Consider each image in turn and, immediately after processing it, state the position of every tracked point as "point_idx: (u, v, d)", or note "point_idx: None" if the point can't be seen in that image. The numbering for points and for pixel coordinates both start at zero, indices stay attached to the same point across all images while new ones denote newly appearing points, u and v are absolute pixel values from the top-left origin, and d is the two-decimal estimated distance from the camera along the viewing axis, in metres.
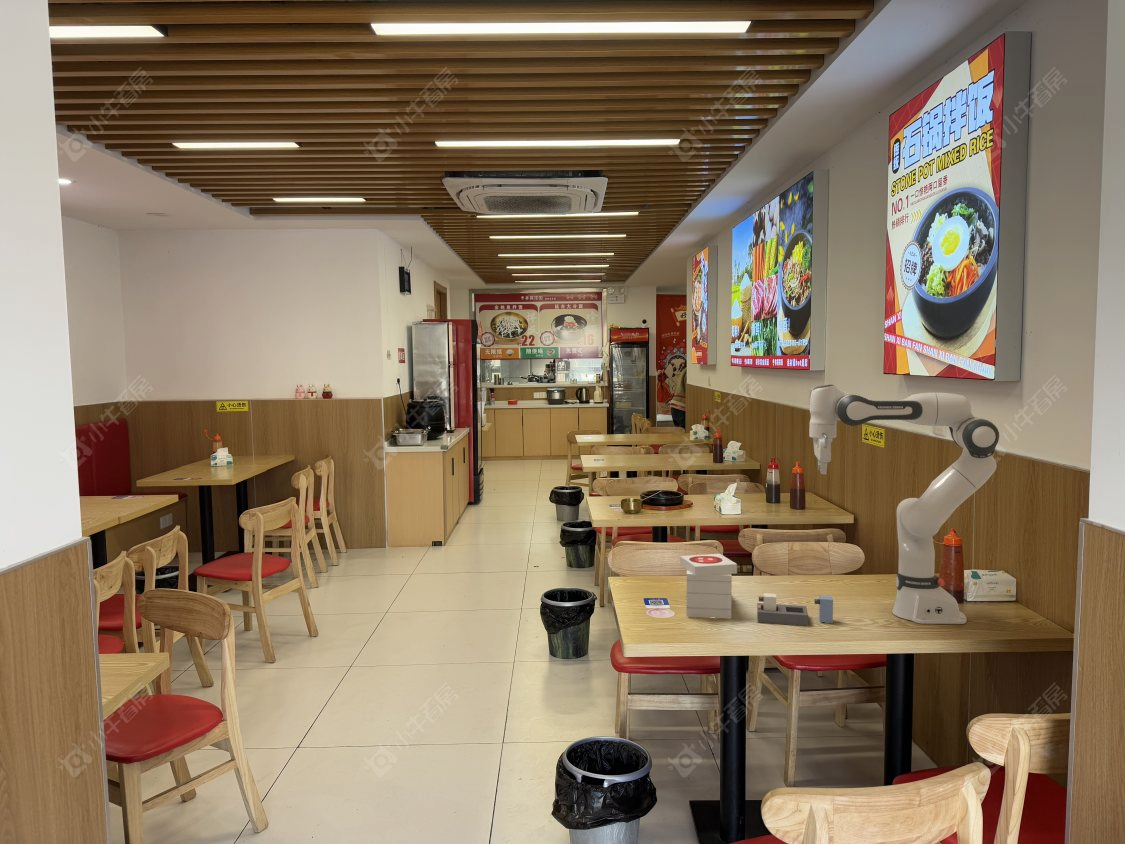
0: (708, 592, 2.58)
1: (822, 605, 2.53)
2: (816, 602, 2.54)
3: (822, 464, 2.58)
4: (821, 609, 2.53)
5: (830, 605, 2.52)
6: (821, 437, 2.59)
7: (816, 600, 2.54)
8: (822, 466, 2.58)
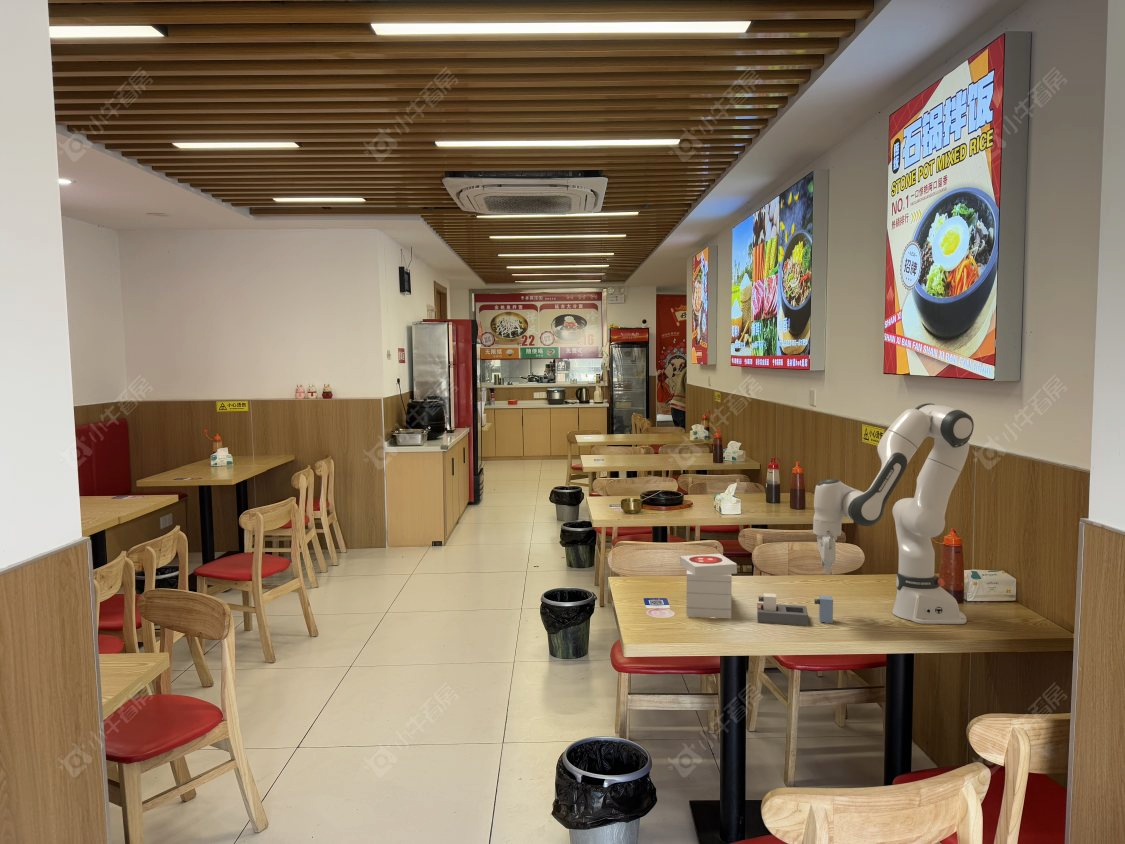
0: (708, 592, 2.58)
1: (822, 605, 2.53)
2: (816, 602, 2.54)
3: (826, 564, 2.47)
4: (821, 609, 2.53)
5: (830, 605, 2.52)
6: (825, 535, 2.48)
7: (816, 600, 2.54)
8: (826, 566, 2.47)
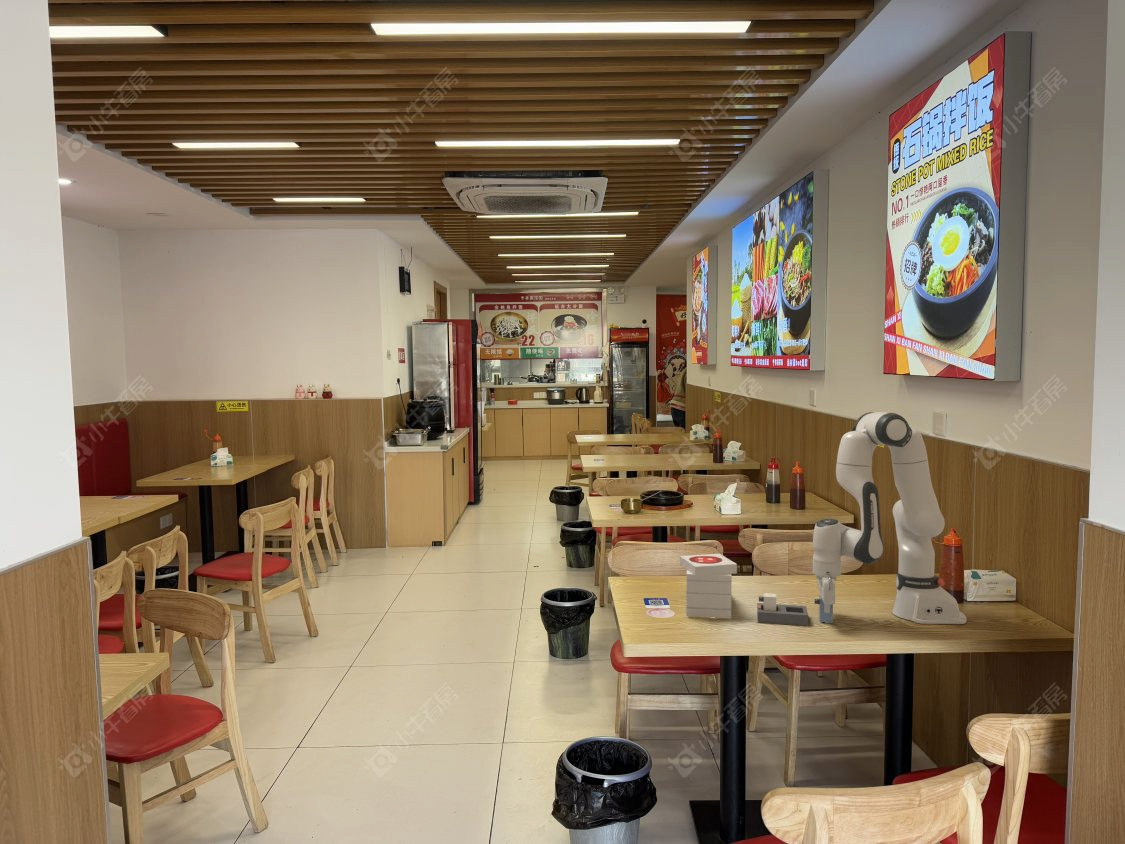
0: (708, 592, 2.58)
1: (822, 605, 2.53)
2: (816, 602, 2.54)
3: None
4: (821, 609, 2.53)
5: (830, 605, 2.52)
6: (825, 576, 2.49)
7: (816, 600, 2.54)
8: (825, 605, 2.50)
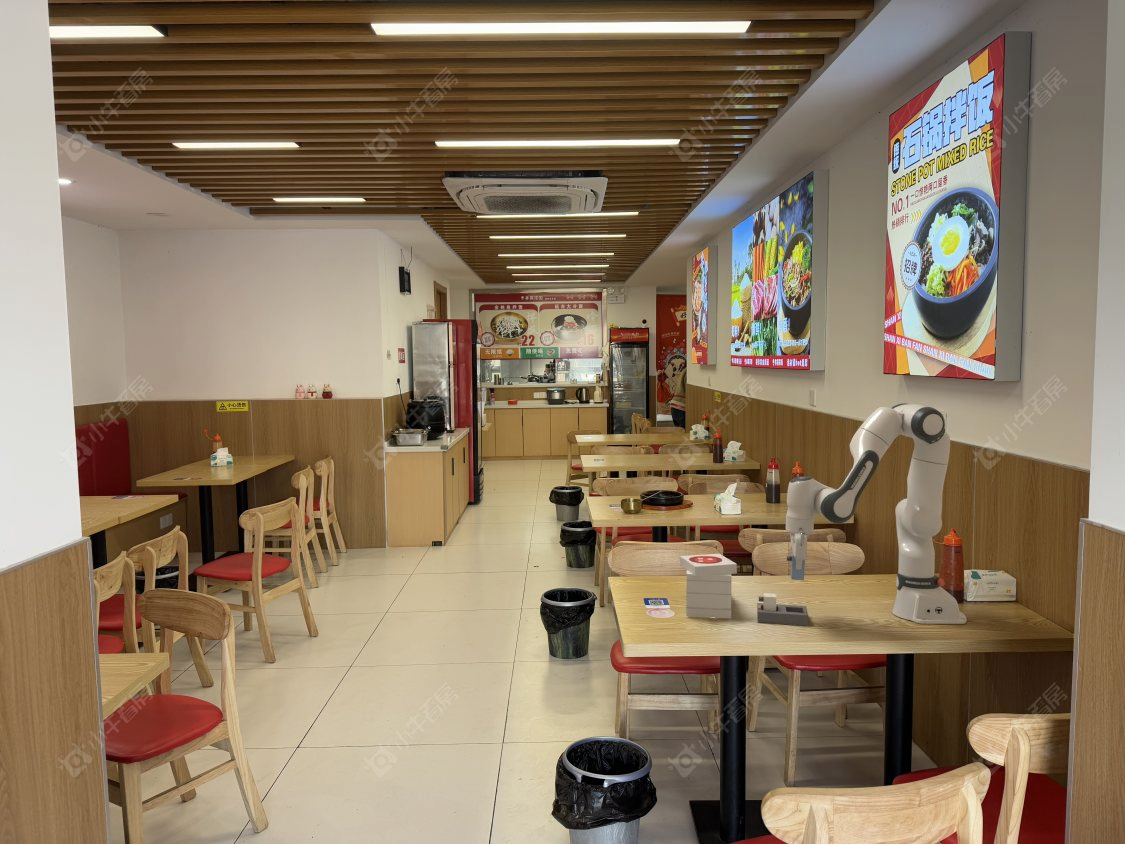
0: (708, 592, 2.58)
1: (794, 562, 2.52)
2: (788, 559, 2.54)
3: (797, 559, 2.50)
4: (793, 566, 2.53)
5: (802, 562, 2.52)
6: (797, 532, 2.49)
7: (788, 557, 2.54)
8: (797, 561, 2.50)
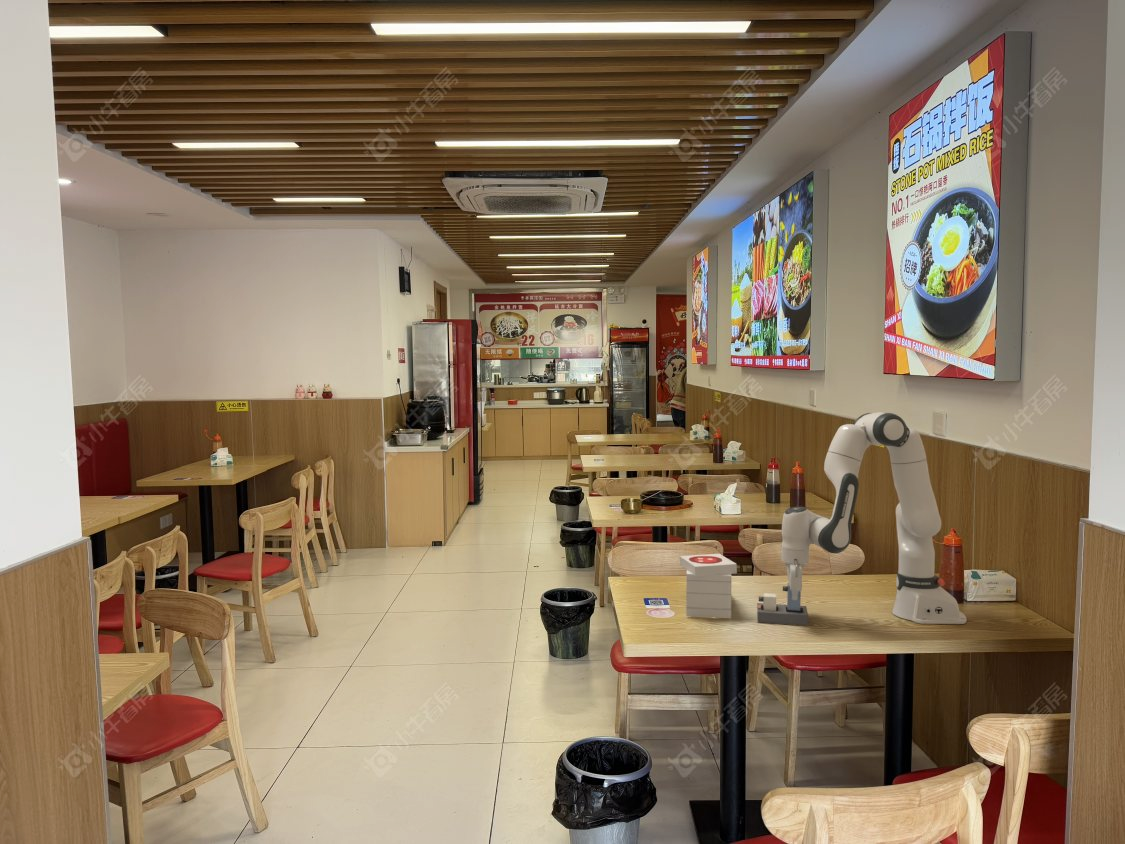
0: (708, 592, 2.58)
1: (790, 592, 2.54)
2: (784, 589, 2.55)
3: None
4: (789, 596, 2.54)
5: (798, 592, 2.53)
6: (793, 563, 2.51)
7: (784, 587, 2.56)
8: (793, 592, 2.52)
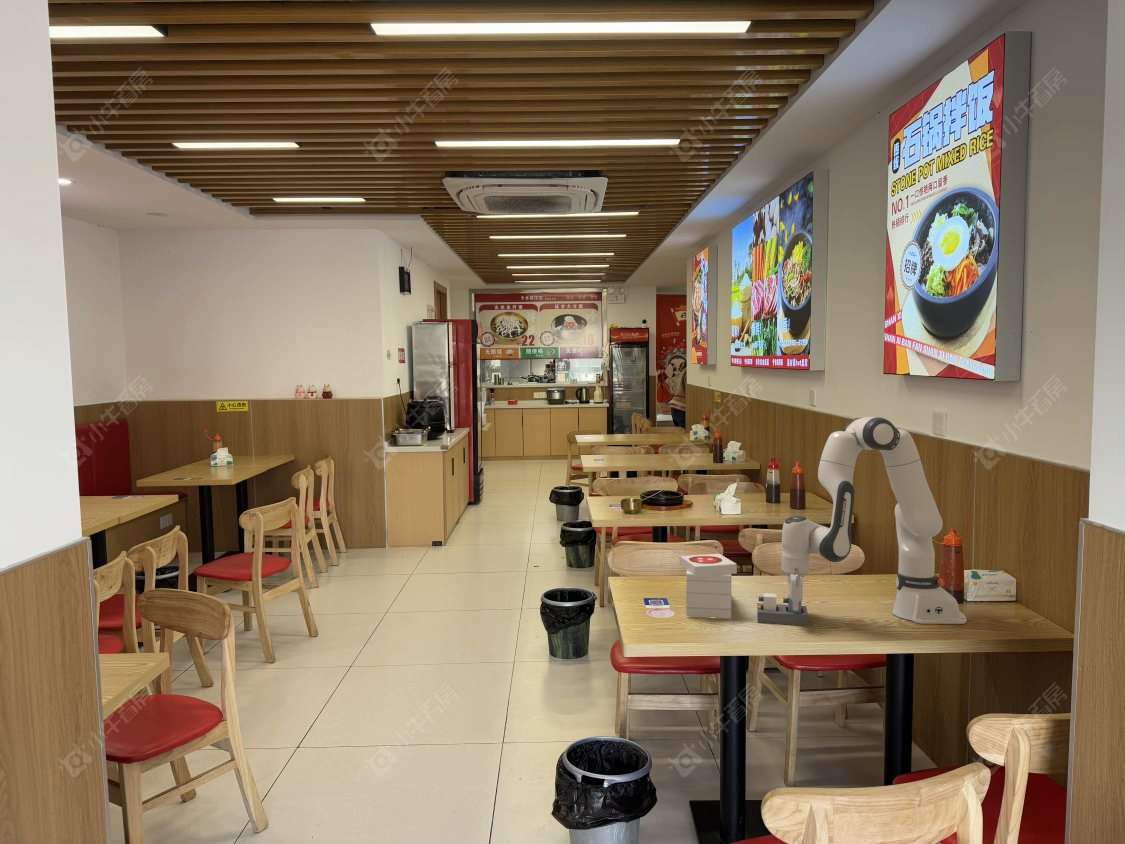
0: (708, 592, 2.58)
1: (790, 604, 2.54)
2: (785, 601, 2.56)
3: (794, 600, 2.50)
4: (789, 608, 2.54)
5: None
6: (793, 572, 2.51)
7: (785, 599, 2.56)
8: (794, 602, 2.50)
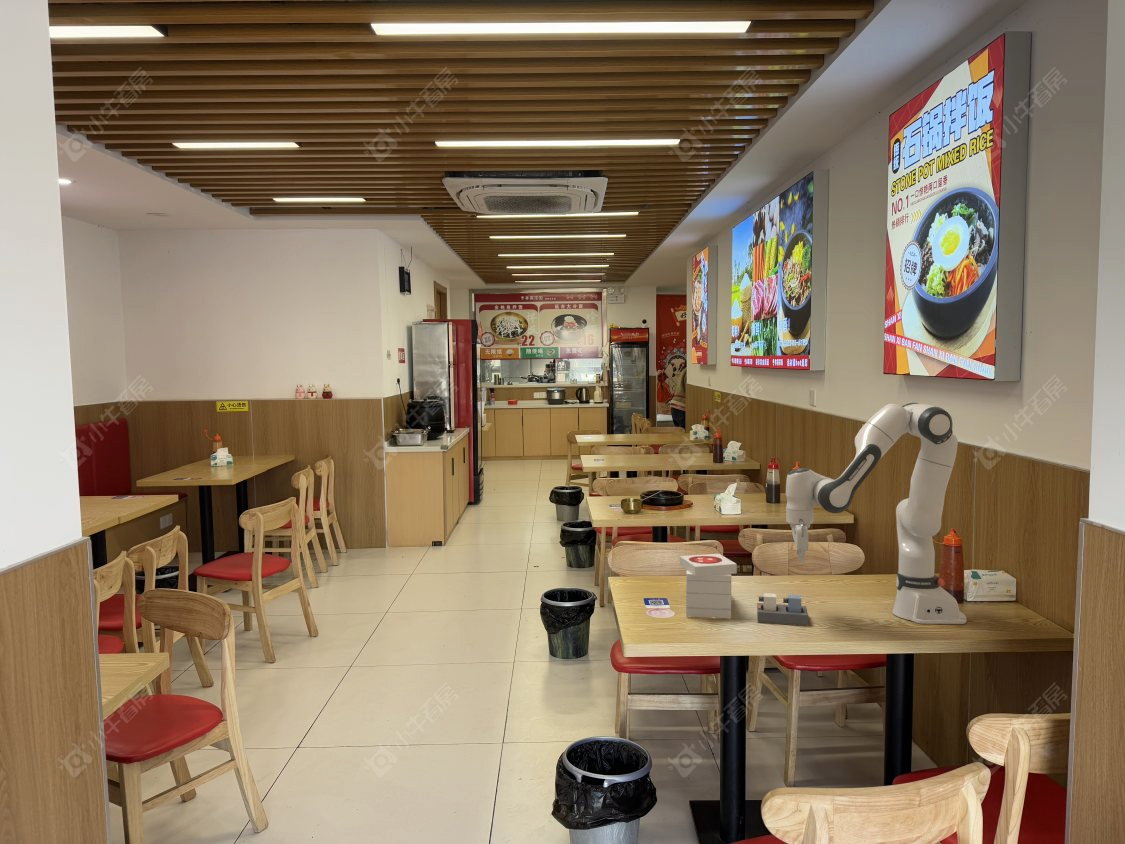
0: (708, 592, 2.58)
1: (790, 604, 2.54)
2: (785, 601, 2.56)
3: (800, 552, 2.50)
4: (789, 608, 2.54)
5: (798, 604, 2.53)
6: (798, 523, 2.52)
7: (785, 599, 2.56)
8: (800, 554, 2.51)
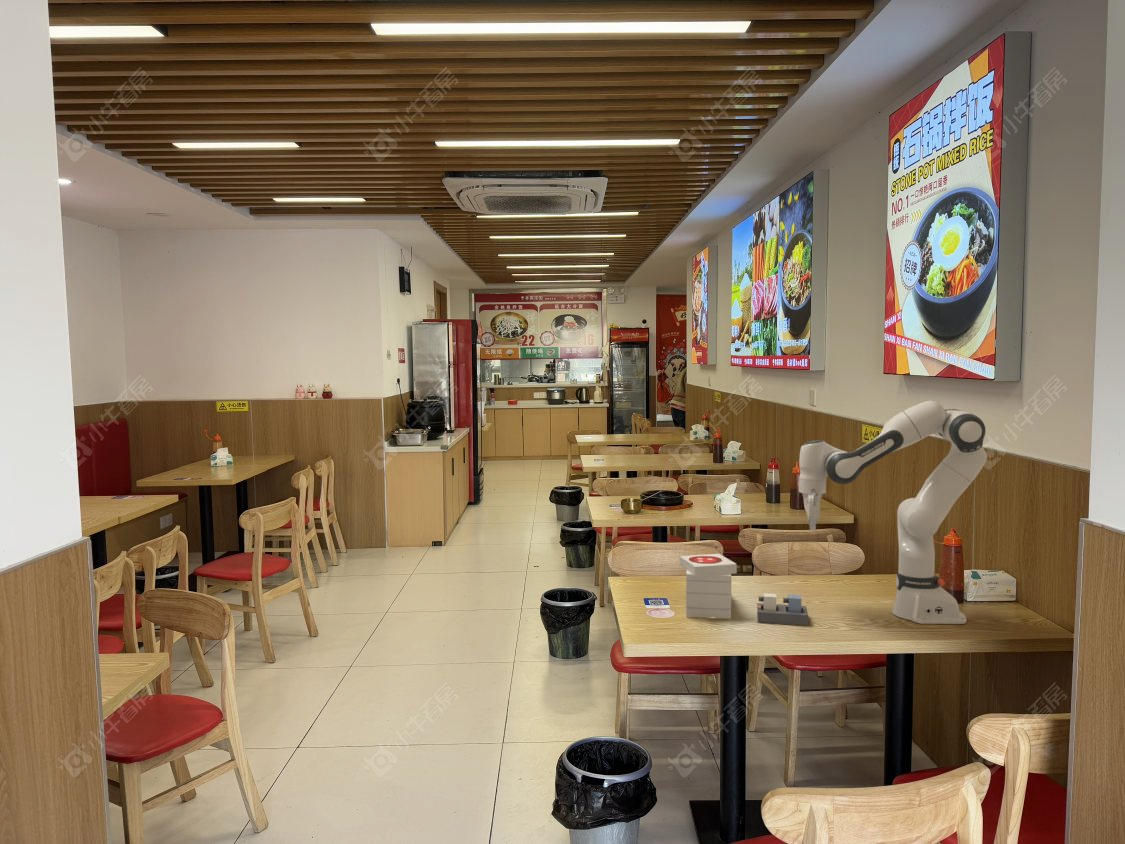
0: (708, 592, 2.58)
1: (790, 604, 2.54)
2: (785, 601, 2.56)
3: (811, 520, 2.58)
4: (789, 608, 2.54)
5: (798, 604, 2.53)
6: (810, 493, 2.59)
7: (785, 599, 2.56)
8: (811, 522, 2.58)
